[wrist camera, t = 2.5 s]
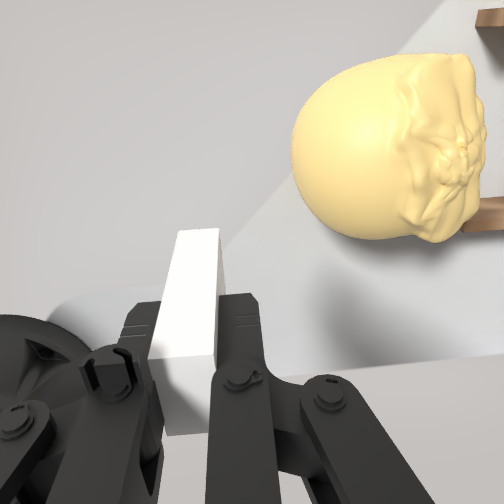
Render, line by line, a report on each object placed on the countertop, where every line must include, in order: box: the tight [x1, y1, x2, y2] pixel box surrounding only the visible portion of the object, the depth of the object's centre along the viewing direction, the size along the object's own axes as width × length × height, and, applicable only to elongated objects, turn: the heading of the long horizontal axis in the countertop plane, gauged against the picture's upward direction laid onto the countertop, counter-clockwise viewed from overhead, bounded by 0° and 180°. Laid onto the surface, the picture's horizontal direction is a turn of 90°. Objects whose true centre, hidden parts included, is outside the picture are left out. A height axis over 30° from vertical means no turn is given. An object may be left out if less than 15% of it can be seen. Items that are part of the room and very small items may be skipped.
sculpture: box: [291, 53, 487, 243], centre depth 26 cm, size 12×12×11 cm
